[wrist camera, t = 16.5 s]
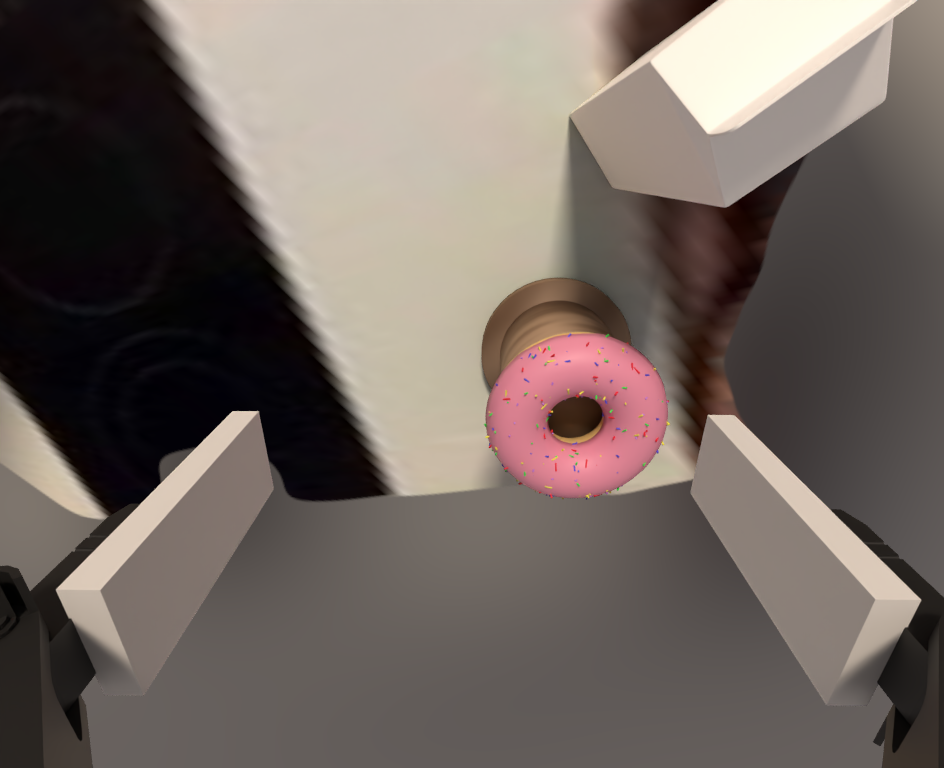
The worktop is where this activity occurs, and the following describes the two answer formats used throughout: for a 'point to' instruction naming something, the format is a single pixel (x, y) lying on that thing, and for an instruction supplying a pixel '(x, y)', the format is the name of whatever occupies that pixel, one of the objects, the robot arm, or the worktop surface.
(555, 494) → the doughnut
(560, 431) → the brown flanged cylinder
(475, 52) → the worktop surface
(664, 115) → the milk
